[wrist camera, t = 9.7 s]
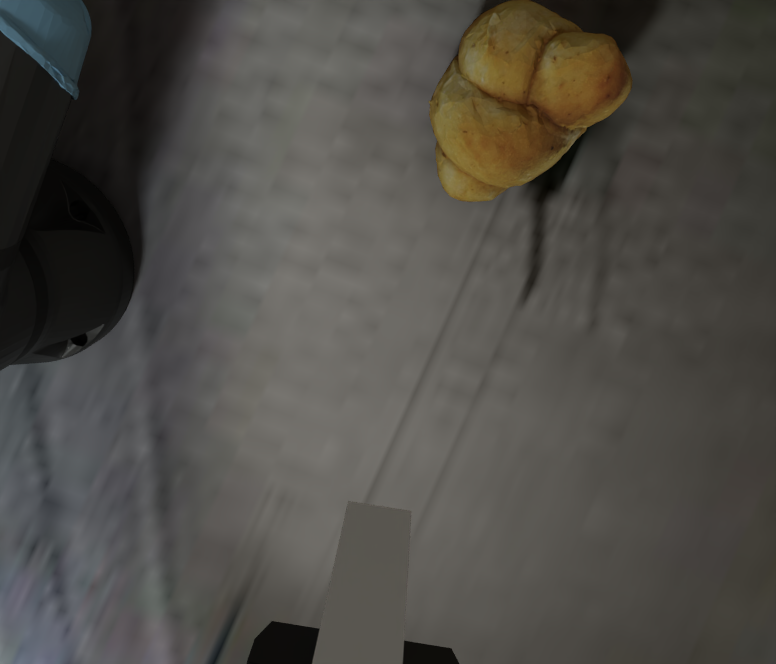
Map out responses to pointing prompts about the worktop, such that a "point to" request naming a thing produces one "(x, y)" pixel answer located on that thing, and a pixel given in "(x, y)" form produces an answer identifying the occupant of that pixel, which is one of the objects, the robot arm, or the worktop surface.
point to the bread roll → (520, 97)
